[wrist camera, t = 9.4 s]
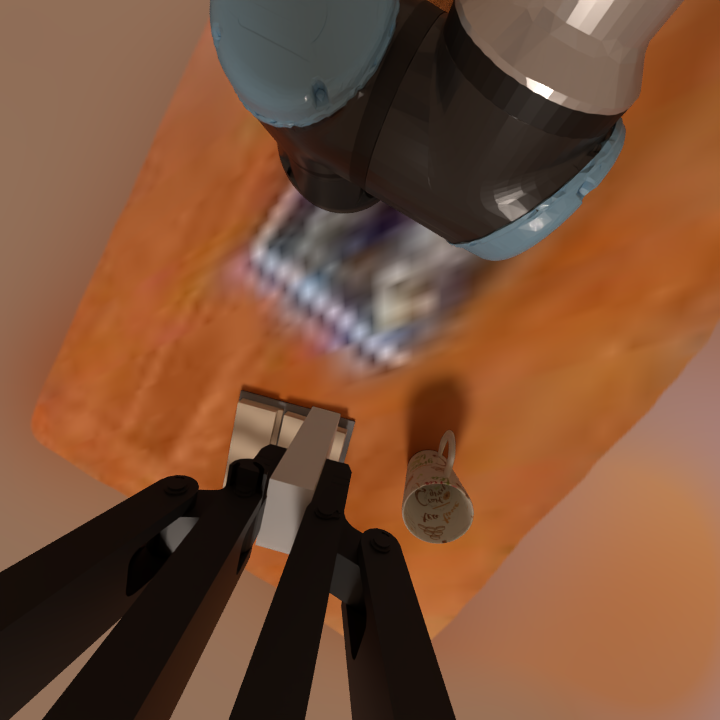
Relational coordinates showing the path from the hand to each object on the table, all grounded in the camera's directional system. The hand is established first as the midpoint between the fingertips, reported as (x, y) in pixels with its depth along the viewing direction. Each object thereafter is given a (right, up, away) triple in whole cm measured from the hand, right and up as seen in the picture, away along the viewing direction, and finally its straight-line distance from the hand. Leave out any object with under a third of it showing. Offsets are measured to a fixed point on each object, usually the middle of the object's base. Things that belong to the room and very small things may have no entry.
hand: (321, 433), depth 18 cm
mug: (+12, -10, +32) cm, 36 cm away
